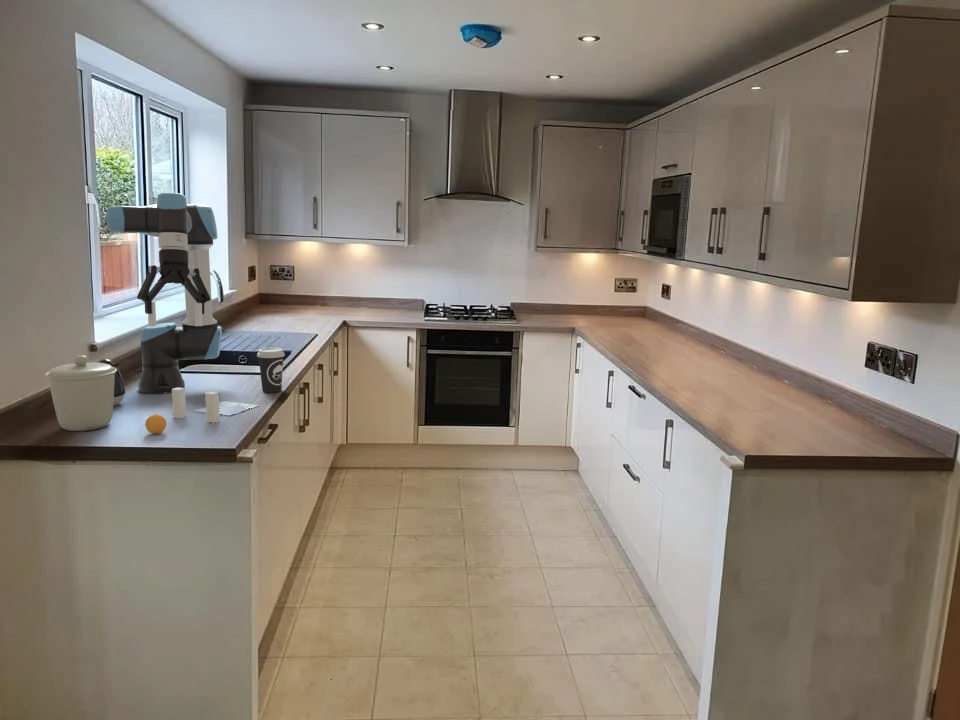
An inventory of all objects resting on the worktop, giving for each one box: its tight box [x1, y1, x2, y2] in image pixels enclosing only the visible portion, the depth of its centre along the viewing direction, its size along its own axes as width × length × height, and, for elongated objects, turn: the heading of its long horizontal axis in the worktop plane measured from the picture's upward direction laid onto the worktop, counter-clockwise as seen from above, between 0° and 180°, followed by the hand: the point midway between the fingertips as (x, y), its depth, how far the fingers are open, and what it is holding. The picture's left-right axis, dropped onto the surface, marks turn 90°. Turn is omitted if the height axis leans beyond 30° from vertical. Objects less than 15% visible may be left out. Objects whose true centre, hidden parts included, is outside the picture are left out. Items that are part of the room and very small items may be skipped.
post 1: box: [171, 387, 187, 419], centre depth 219 cm, size 3×3×9 cm
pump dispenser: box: [96, 358, 126, 407], centre depth 231 cm, size 10×10×15 cm
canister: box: [44, 354, 117, 432], centre depth 206 cm, size 18×18×21 cm
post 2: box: [204, 391, 221, 424], centre depth 215 cm, size 3×3×9 cm
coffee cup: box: [256, 347, 286, 394], centre depth 254 cm, size 10×10×15 cm
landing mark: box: [194, 400, 260, 416], centre depth 231 cm, size 14×14×1 cm
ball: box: [144, 413, 167, 435], centre depth 203 cm, size 6×6×6 cm
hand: (176, 326), depth 200 cm, fingers open, 13 cm apart
